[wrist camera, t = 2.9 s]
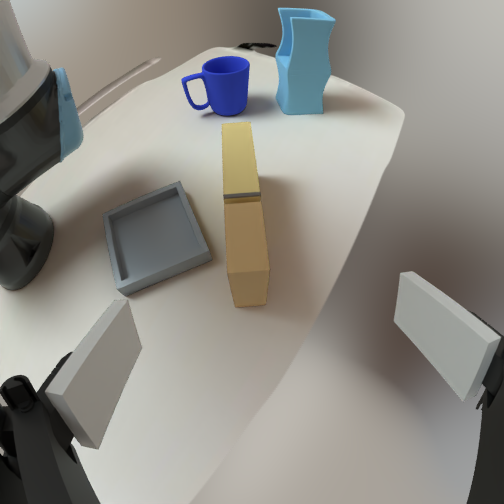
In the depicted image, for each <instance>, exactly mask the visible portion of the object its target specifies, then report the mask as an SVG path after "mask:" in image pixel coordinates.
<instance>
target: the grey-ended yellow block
mask: <svg viewBox="0 0 504 504" xmlns="http://www.w3.org/2000/svg"><path fill="white" fill-rule="evenodd" d="M222 159H223V192H224V195H223V196H224V204H235V203H248V202H260V198H261V194H260V188H259V181H258V173H257V166H256V159H255V152H254V144H253V137H252V130H251V123H250V122H239V123H226V124H222Z"/></svg>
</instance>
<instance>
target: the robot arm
mask: <svg viewBox="0 0 504 504" xmlns="http://www.w3.org/2000/svg"><path fill="white" fill-rule="evenodd" d="M82 141H83V130H82V126H81V122H80V119H79V116H78V112H77V109H76V106H75V103H74V99H73V97H72V93H71V89H70V85H69V82H68V78H67V75H66V72H65V69H64V68H59V69H54V70H53V72H52V69H51V67H50V65H49V63H48V62H47V61H46V60H39V59H33V58H32V57H31V54H30V52H29V50H28V47H27V45H26V43H25V40H24V38H23V35H22V33H21V31H20V28H19V25H18V23H17V20H16V17H15V14H14V12H13V9H12V6H11V3H10V0H0V285H1V286H3V287H4V288H6V289H9V290H16V289H19V288H22V287H23V286H25V285H26V284H28V283H29V282H30V281H31V280H32V279H33V278H34V277H35V276H36V275H37V273H38V272H39V270H40V269H41V267H42V266H43V264H44V262H45V260H46V258H47V256H48V254H49V251H50V248H51V244H52V240H53V224H52V220H51V218H50V217H49V215H48V214H47V213H46V212H45V211H44V210H43V209H42V208H41V207H40V206H38V205H35V204H32V203H30V202H28V201H27V200H25V199H23V198H21V197H19V196H17V195H16V194H17V193H19V192H20V191H21V190H22V189H24V188H25V187H26V186H27V185H29V184H30V183H31V182H33V181H34V180H35V179H36V178H38V177H39V176H40V175H42V174H43V173H45V172H46V171H47V170H49V169H50V168H52V167H53V166H54V165H56V164H57V163H59V162H60V163H61V162H62V161H63V160H64V158H65V157H66V156H68V155H69V154H70V153H72V152H73V151H75V150H76V149H77V148H79V146H80V145H81V143H82ZM394 322H395V323H396V324H397V325H398V326H399V327H400V329H401V330H402V331H403V332H404V333H405V334H406V335H407V336H408V337H409V339H410V340H411V341H412V342H413V343H414V344H415V345H416V346H417V348H418V349H419V350H420V351H421V352H422V353H423V355H424V356H425V357H426V358H427V359H428V360H429V361H430V363H431V364H432V365H433V366H434V367H435V369H436V370H437V371H438V372H439V373H440V374H441V376H442V377H443V378H444V379H445V380H446V382H447V383H448V384H449V385H450V386H451V388H452V389H453V390H454V391H455V392H456V394H457V395H458V396H459V398H460V399H461V400H462V401H463V402H464V401H466V400H468V399H470V398H472V397H474V396H476V394H477V392H478V391H479V388H480V386H481V384H483V385H484V386H485V387H486V389H485V391H484V393H483V395H482V397H481V399H480V401H479V403H478V404H477V407H476V409H478V408H479V406H480V405H481V404H482V403H483V405H482V409H481V410H482V421H481V432H480V440H479V448H478V455H477V460H476V466H475V471H474V476H473V481H472V485H471V490H470V493H469V497H468V501H467V504H504V336H503V335H501V334H500V333H499V332H498V331H496V330H495V329H494V328H492V327H491V326H490V325H487V323H486V322H485V321H484V320H481V318H480V317H478V316H477V315H476V314H475V313H473V312H470V311H468V310H466V309H465V308H463V307H462V306H461V305H459V304H458V303H457V302H455V301H454V300H452V299H451V298H450V297H448V296H447V295H446V294H444V293H443V292H441V291H440V290H439V289H437V288H436V287H434V286H433V285H432V284H430V283H429V282H427V281H426V280H424V279H423V278H422V277H420V276H419V275H417V274H416V273H414V272H413V271H410V272H404V273H400V280H399V288H398V297H397V304H396V310H395V317H394ZM141 349H142V346H141V342H140V339H139V336H138V333H137V329H136V326H135V323H134V319H133V316H132V312H131V309H130V305H129V301H128V300H114V301H113V302H112V304H111V305H110V306H109V307H108V308H107V310H106V311H105V312H104V313H103V314H102V316H101V317H100V318H99V319H98V321H97V322H96V323H95V324H94V326H93V327H92V328H91V329H90V331H89V332H88V333H87V335H86V336H85V337H84V338H83V340H82V341H81V342H80V344H79V345H78V346H77V348H76V349H75V350H74V352H70V353H68V354H67V355H66V356H64V357H63V358H62V359H61V360H60V361H59V363H58V364H57V365H56V368H54V369H53V371H52V372H51V374H50V375H49V376H48V377H47V379H46V380H45V382H44V383H43V384H42V386H41V387H40V389H39V390H38V391H37V393H36V391H35V389H34V388H33V386H32V384H31V383H30V381H29V379H28V378H27V377H26V376H24V375H17V376H13V377H11V378H9V379H7V380H6V381H5V382H4V383H3V384H2V386H1V387H0V394H1V395H2V397H3V399H4V400H5V402H6V403H7V405H8V406H6V407H5V406H2V405H1V404H0V447H1V448H2V449H3V450H4V455H3V456H2V455H1V454H0V504H100V502H99V500H98V498H97V496H96V494H95V492H94V490H93V488H92V486H91V484H90V482H89V480H88V478H87V476H86V474H85V471H84V469H83V467H82V465H81V462H80V460H79V457H78V455H77V453H76V450H75V448H74V446H73V445H72V444H71V441H72V439H73V437H75V438H76V439H77V441H78V442H79V443H80V445H81V446H85V447H89V448H93V449H98V450H99V447H100V444H101V442H102V439H103V437H104V434H105V432H106V429H107V427H108V424H109V422H110V419H111V417H112V415H113V412H114V410H115V407H116V405H117V403H118V400H119V398H120V396H121V393H122V391H123V389H124V387H125V384H126V382H127V380H128V378H129V375H130V373H131V371H132V369H133V366H134V364H135V362H136V360H137V358H138V356H139V353H140V351H141Z"/></svg>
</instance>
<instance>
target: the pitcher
mask: <svg viewBox="0 0 504 504" xmlns="http://www.w3.org/2000/svg"><path fill="white" fill-rule="evenodd" d="M278 11H279V14H280V17H281V21H282V27H283V36H282V41H281V44H280V47H279V49H278V51H277V53H276V62H277V67H278V73H279V85H278V91H277V94H276V100H277V102H278V104H279V106H280V108H281V110H282V112H283V113H284V114H287V115H301V114H323V105H322V97H323V91H324V88H325V85H326V83H327V81H328V79H329V77H330V75H331V67H330V63H329V57H328V42H329V37H330V33H331V31H332V28H333V26H334V24H335V21H336V20H335V19H334V18H332V17H331V16H329V15H328V14H326V13H324V12H322V11H319V10H312V9H298V8H278Z"/></svg>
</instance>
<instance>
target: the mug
mask: <svg viewBox="0 0 504 504" xmlns="http://www.w3.org/2000/svg"><path fill="white" fill-rule="evenodd" d="M249 67H250V64H249V62H248V61H247V60H246V59H244V58H241V57H235V56H225V57H218V58H214V59H211V60H209V61H207V62H206V63H205V64H204V65H203V66H202V73H197V74H193V75H190V76H187V77H184V78H182V85H183V88H184V91H185V94H186V97H187V99H188V101H189V103H190V105H191V106H192V107H193V108H194V109H196V110H203V109H205V108H207V107H208V106H209V105H210V106H211V108H212V110H213V111H214V112H215V113H217V114H219V115H225V116H229V115H235V114H238V113H240V112H242V111H243V110H244V109H245V107H246V104H247V95H248V81H249ZM198 78H201V79H202V80H203V82H204V85H205V88H206V93H207V98H208V102H207V103H206V104H204V105H196V104H194V103H193V101H192V99H191V97H190V95H189V91H188V88H187V84H186V83H187V82H188V81H190V80H193V79H198Z"/></svg>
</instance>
